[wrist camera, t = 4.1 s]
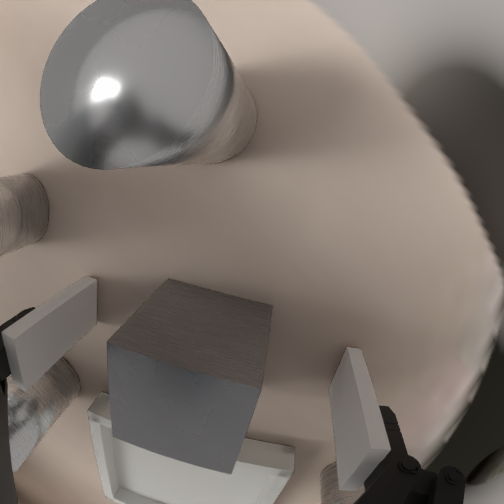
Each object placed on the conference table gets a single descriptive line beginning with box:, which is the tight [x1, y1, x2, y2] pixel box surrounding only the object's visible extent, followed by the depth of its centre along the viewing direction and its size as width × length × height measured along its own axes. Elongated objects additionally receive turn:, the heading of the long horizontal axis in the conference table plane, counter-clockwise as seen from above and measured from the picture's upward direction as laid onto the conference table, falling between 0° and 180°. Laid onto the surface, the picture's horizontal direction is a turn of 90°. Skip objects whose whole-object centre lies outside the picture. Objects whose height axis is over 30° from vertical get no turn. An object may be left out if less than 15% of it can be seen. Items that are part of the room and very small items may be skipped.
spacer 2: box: [7, 357, 80, 472], centre depth 14 cm, size 4×4×8 cm
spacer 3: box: [40, 0, 257, 170], centre depth 9 cm, size 4×4×8 cm
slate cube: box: [107, 279, 273, 474], centre depth 13 cm, size 5×5×6 cm
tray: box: [87, 392, 295, 504], centre depth 18 cm, size 13×13×2 cm
